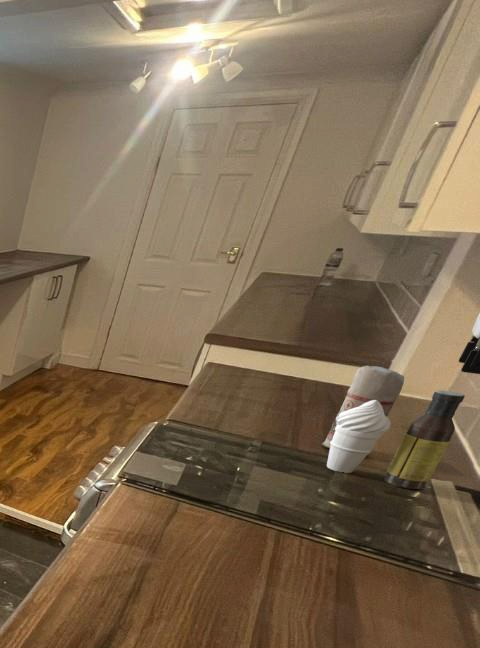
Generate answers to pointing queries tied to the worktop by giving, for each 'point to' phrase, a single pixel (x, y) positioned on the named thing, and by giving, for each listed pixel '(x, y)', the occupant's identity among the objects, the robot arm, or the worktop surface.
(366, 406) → the ice cream cone
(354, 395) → the spray can
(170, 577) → the worktop surface
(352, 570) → the worktop surface
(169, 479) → the worktop surface
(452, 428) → the sauce bottle
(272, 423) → the worktop surface
